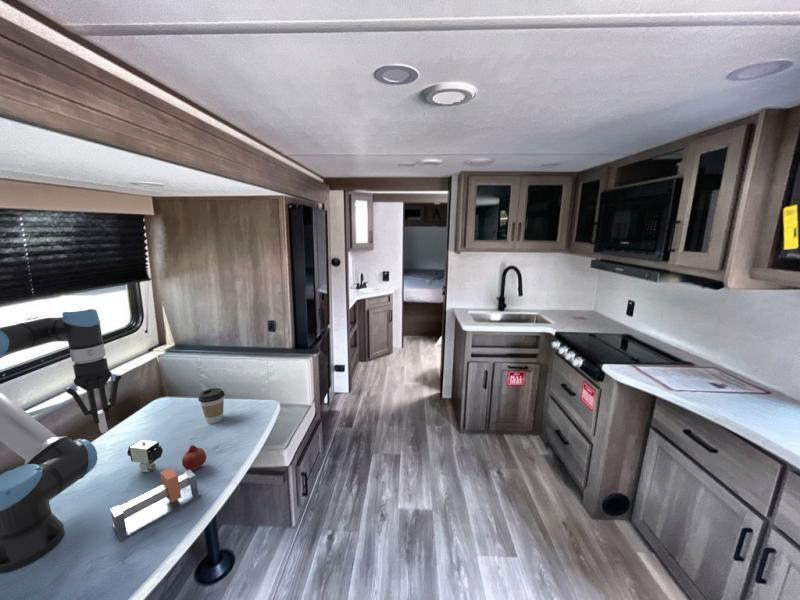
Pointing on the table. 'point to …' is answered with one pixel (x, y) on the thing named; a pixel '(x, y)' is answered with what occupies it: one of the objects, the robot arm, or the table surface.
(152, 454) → the pneumatic valve
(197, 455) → the fruit
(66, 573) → the table surface
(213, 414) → the coffee cup
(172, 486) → the terracotta rectangular block
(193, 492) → the grey rail frame
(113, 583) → the table surface
